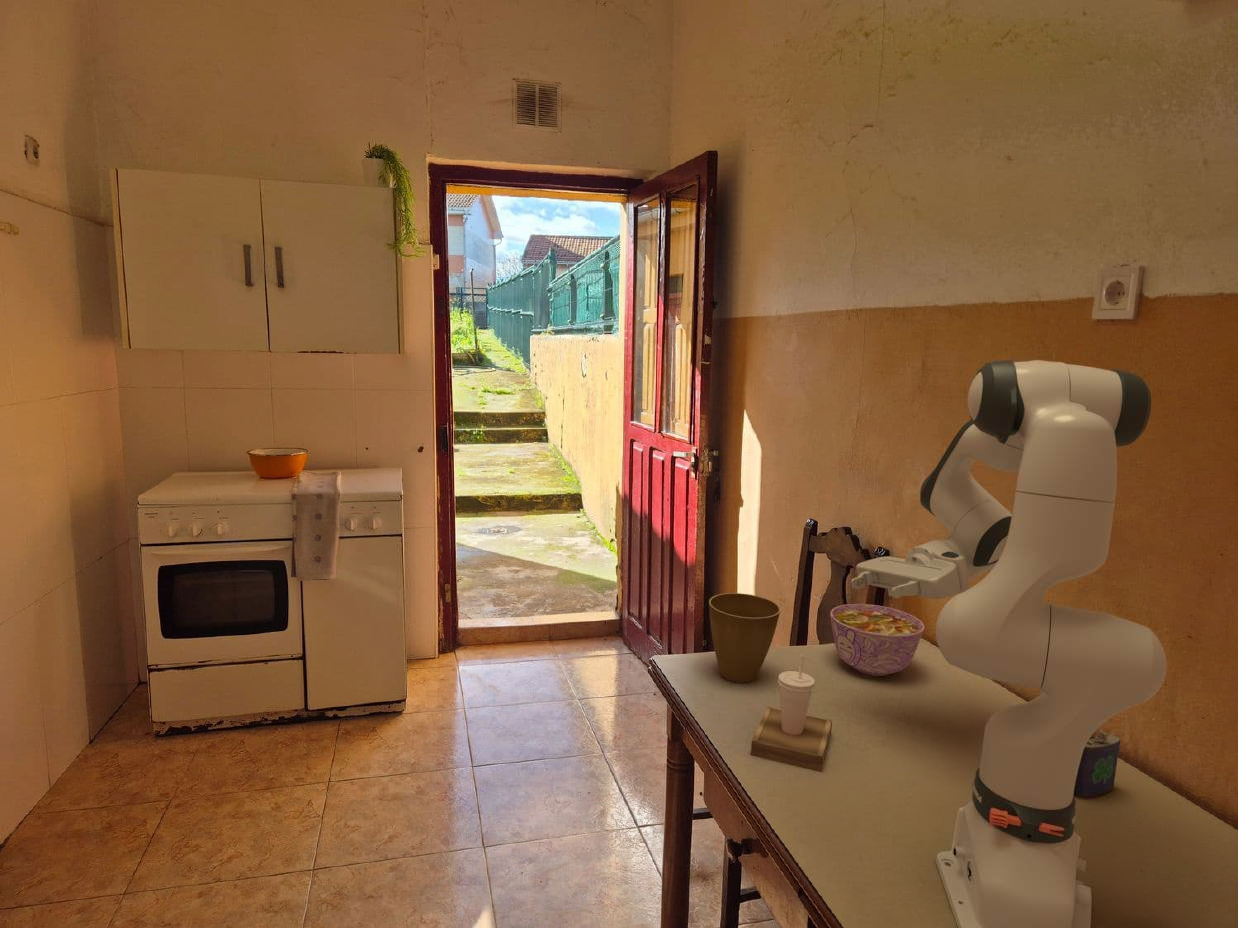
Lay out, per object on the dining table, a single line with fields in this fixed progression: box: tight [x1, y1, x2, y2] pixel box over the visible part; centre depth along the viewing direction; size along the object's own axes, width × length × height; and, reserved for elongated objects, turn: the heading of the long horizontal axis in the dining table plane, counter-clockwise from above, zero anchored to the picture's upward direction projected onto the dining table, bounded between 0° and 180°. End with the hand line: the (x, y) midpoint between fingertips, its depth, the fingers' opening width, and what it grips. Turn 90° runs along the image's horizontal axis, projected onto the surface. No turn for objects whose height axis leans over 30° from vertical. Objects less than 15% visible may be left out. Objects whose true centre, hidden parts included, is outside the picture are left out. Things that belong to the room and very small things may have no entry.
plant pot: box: [708, 592, 781, 684], centre depth 164 cm, size 15×15×16 cm
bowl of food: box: [829, 603, 926, 677], centre depth 172 cm, size 20×20×12 cm
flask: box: [1073, 728, 1121, 800], centre depth 127 cm, size 9×3×11 cm, turn 114°
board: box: [750, 706, 833, 772], centre depth 138 cm, size 14×12×3 cm
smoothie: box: [777, 654, 815, 735], centre depth 137 cm, size 6×6×14 cm
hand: (871, 588), depth 137 cm, fingers open, 8 cm apart
